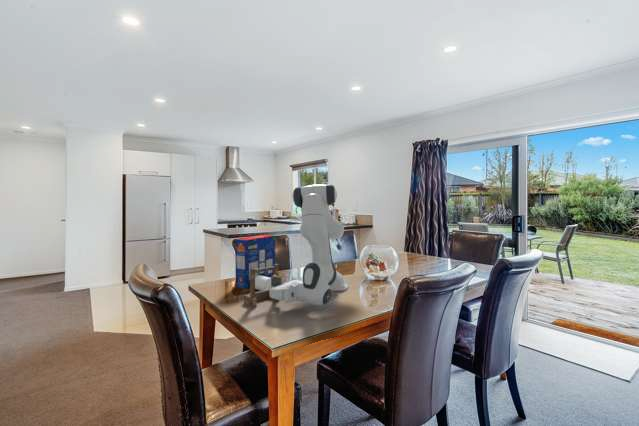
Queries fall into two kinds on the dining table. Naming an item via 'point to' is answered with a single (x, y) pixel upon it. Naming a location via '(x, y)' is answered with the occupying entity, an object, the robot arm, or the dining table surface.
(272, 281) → the grey corked bottle
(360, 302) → the dining table surface
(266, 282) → the mug
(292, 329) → the dining table surface
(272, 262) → the pasta box
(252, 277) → the wooden rack frame
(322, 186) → the robot arm
